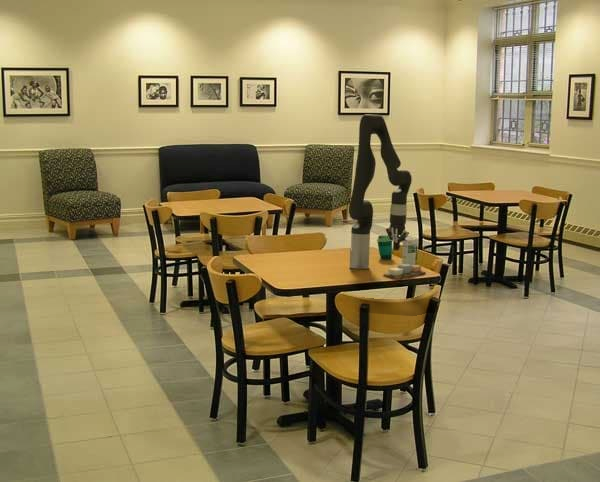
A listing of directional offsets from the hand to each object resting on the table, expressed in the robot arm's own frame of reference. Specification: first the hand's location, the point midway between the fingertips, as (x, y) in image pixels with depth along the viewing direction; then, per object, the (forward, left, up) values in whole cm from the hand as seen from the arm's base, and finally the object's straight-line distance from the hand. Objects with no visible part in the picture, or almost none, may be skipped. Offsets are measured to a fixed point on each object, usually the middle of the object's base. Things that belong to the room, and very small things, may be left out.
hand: (396, 249), depth 376 cm
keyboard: (+4, +5, -13) cm, 14 cm away
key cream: (0, 0, -13) cm, 13 cm away
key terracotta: (+8, +10, -13) cm, 18 cm away
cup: (-9, +42, -13) cm, 45 cm away
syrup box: (+5, +26, -13) cm, 30 cm away
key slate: (+4, +5, -12) cm, 13 cm away
